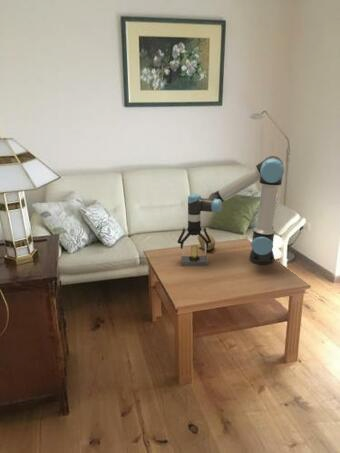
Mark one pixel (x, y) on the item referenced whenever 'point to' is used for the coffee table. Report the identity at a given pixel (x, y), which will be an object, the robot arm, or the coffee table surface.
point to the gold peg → (194, 252)
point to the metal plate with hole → (187, 261)
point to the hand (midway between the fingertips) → (194, 253)
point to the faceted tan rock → (210, 245)
